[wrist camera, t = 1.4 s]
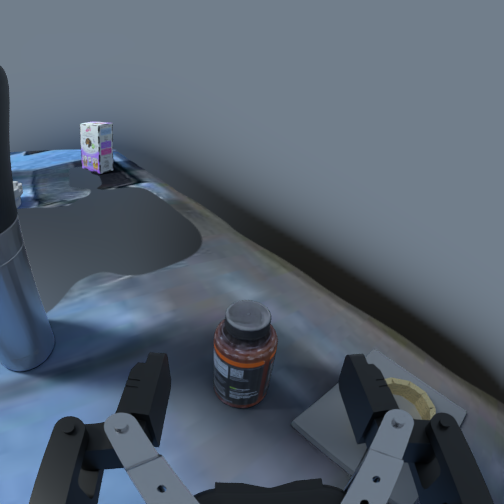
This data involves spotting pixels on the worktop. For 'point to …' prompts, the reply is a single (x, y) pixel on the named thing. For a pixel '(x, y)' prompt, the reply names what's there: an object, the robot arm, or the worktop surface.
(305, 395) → the worktop surface
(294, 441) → the worktop surface
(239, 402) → the supplement bottle
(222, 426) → the worktop surface
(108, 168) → the candy box
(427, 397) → the brass collar
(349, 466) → the grey square plate
